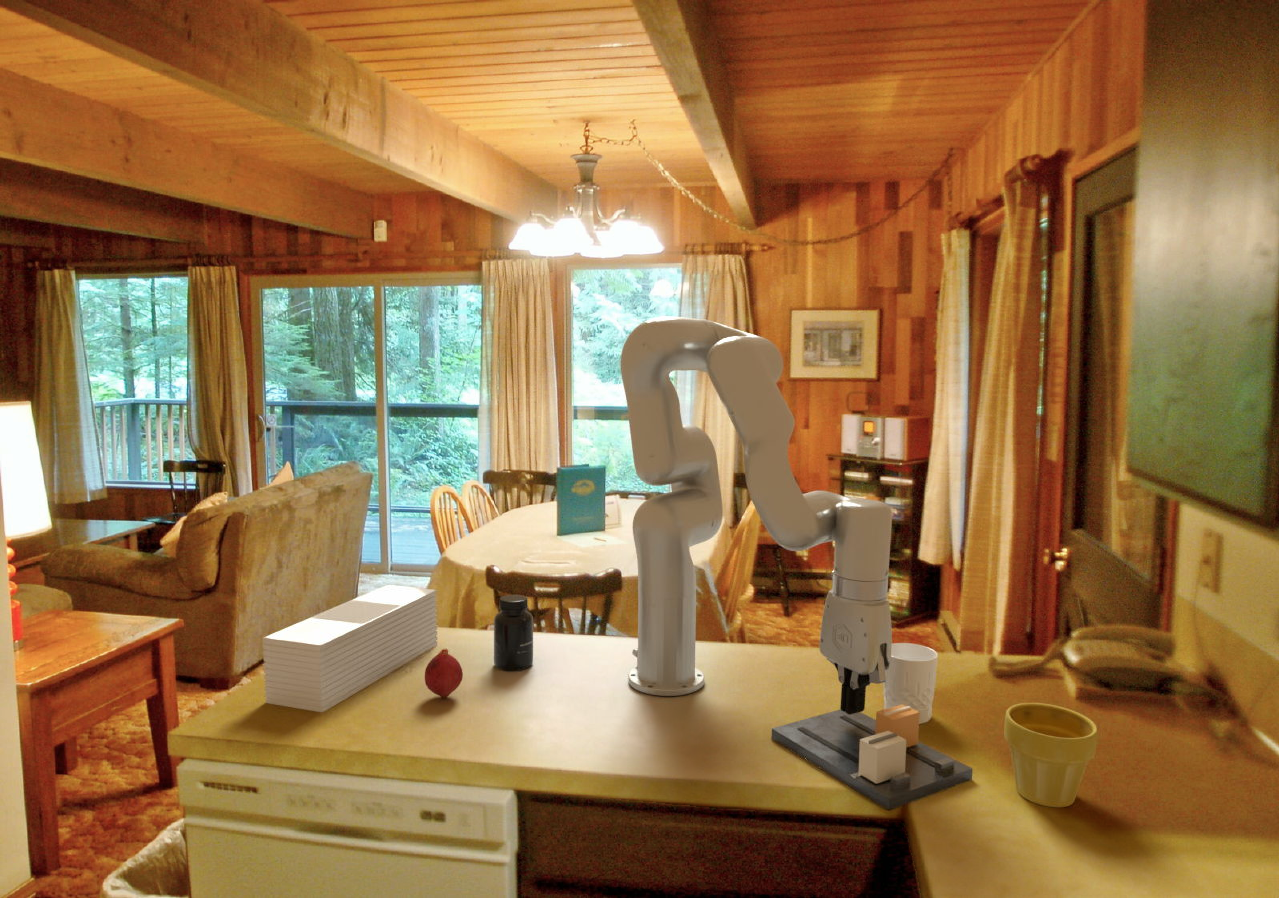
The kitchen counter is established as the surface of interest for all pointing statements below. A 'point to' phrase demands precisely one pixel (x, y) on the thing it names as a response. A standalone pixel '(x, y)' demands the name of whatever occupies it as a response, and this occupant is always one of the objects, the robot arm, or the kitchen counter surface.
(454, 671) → the onion
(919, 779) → the console board
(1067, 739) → the plant pot
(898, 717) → the block
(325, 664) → the stack of papers
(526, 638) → the supplement bottle
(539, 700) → the kitchen counter surface
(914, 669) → the white cup
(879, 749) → the fader
